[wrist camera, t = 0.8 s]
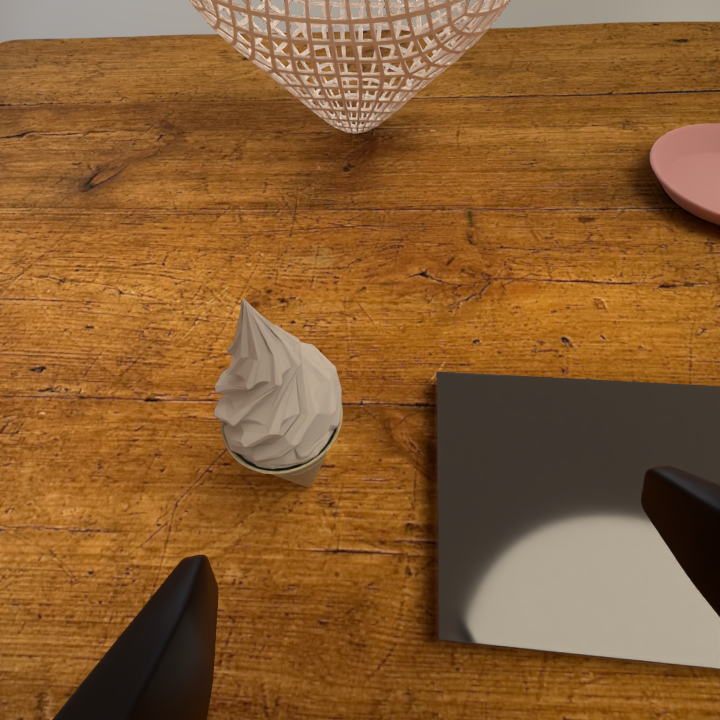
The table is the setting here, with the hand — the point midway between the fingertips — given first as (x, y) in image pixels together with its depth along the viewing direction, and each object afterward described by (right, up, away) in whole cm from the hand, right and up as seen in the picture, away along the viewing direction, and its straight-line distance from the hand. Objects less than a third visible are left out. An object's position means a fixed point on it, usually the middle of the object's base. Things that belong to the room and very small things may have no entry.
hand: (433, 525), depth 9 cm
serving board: (+13, -4, +15) cm, 20 cm away
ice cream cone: (-4, -4, +16) cm, 17 cm away
